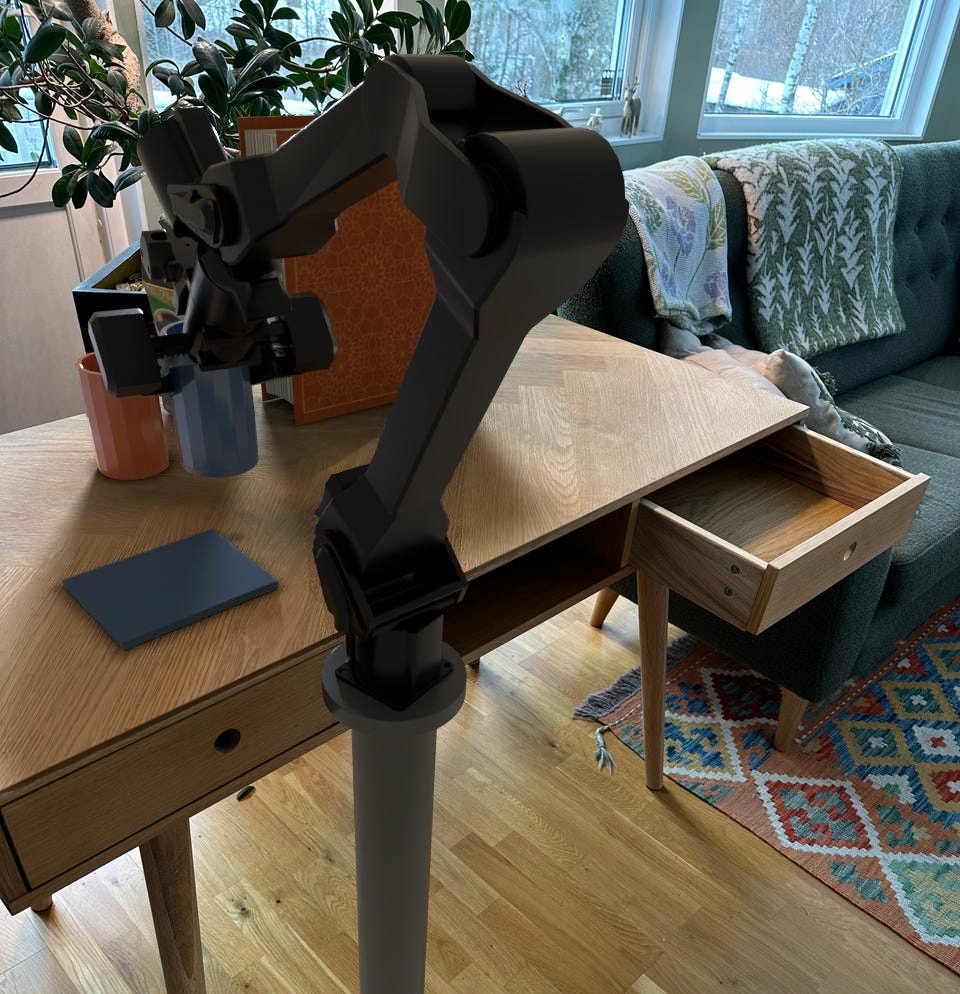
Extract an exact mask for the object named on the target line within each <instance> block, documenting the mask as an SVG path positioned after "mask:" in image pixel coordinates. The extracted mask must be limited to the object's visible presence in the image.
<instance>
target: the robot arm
mask: <svg viewBox="0 0 960 994" xmlns="http://www.w3.org/2000/svg"><path fill="white" fill-rule="evenodd" d="M318 115H319V116H318V117H317V118H316V119H314V120H313V121H312V122H310V123H309V124H308V125H307V126H305V127H304V128H303V129H302V130H300V131H299V132H298V133H296V134H295V135H294V136H293V137H291V138H290V139H289V140H288V141H286V142H285V143H284V144H282V145H281V146H280V147H279V148H277V149H276V150H274V151H271V152H268V153H263V154H258V155H252V156H246V157H241V156H240V157H235V158H231V159H229V157H228V155H227V153H226V151H225V148H224V147H223V144H222V142H221V140H220V137H219V135H218V133H217V131H216V130H215V127H214V126H213V124H212V123H211V120H210V118H209V115H208V113H207V112H206V109H205V107H204V106H196V105H195V106H175V109H174V112H173V116H172V117H171V118H168V119H165V120H163V121H160V122H159V123H157V124H156V125H154V126H152V128H150V129H149V130H148V131H147V132H146V133H145V134H143V136H141V137H139V138H138V141H137V143H136V153H137V157H138V159H139V162H140V163H141V166H142V167H143V168H142V169H143V170H144V172H145V174H146V177H147V179H148V181H149V183H150V186H151V187H152V190H153V192H154V194H155V196H156V198H157V200H158V203H159V205H160V207H161V209H162V211H163V213H164V215H165V218H166V219H167V222H168V224H169V225H168V226H166V227H164V228H160V229H159V228H158V229H152V230H142V231H141V233H140V239H139V249H140V257H141V258H140V260H141V259H142V263H143V265H144V267H145V270H146V272H147V275H148V277H149V279H150V280H151V281H154V280H164V282H165V283H169V282H172V284H173V287H174V294H173V301H172V302H173V306H174V309H175V312H176V315H177V316H183V317H184V324H183V333H180V334H171V335H161V336H158V334H157V331H156V328H155V325H154V321H149V322H148V321H147V322H146V319H145V315H144V312H143V311H142V310H141V309H140V308H139V307H136V308H125V309H115V310H104V311H94V312H93V313H92V314H91V316H90V318H89V319H88V323H87V324H88V325H87V327H88V329H87V330H88V335H89V337H90V338H89V339H90V342H91V344H92V347H93V352H95V354H96V358H97V361H98V364H99V367H100V371H101V374H102V377H103V380H104V384H105V387H106V390H107V393H109V394H111V395H112V396H114V397H116V398H121V397H128V396H136V395H140V396H159V398H162V397H163V398H170V397H172V395H173V394H174V392H175V389H174V386H173V382H172V379H171V376H170V373H169V370H170V368H176V367H184V366H192V365H199V368H200V371H201V372H206V371H214V370H222V369H230V368H237V367H245V366H250V371H251V381H252V387H254V386H257V385H258V386H259V385H261V384H262V383H266V382H271V381H275V380H279V379H284V378H288V377H292V376H298V375H302V374H304V373H305V372H312V371H319V370H327V369H329V368H330V366H331V365H332V363H333V361H334V359H335V357H336V355H337V343H336V340H335V337H334V333H333V330H332V327H331V324H330V321H329V318H328V315H327V312H326V309H325V306H324V303H323V301H322V300H321V299H320V298H319V297H318V296H317V295H316V294H314V293H313V292H303V293H292V294H288V293H287V291H286V289H285V287H284V285H283V282H282V280H281V277H280V276H281V273H282V262H281V259H283V258H291V257H298V256H306V255H314V254H316V253H317V252H318V251H319V250H320V249H321V248H322V247H323V246H324V245H325V244H326V243H327V242H328V241H329V240H330V239H331V238H332V237H333V236H334V235H335V233H336V232H337V230H338V224H337V217H338V216H339V215H340V214H341V213H342V212H343V211H344V210H346V209H347V208H349V207H351V206H353V205H354V204H356V203H358V202H360V201H361V200H363V199H365V198H366V197H368V196H370V195H372V194H373V193H375V192H377V191H379V190H380V189H382V188H384V187H386V186H387V185H389V184H391V183H393V182H394V181H396V180H398V181H399V188H400V195H401V200H402V202H403V203H404V205H405V206H406V207H407V208H408V209H409V210H410V211H411V212H412V213H413V214H414V215H415V216H416V217H417V218H418V219H419V220H420V221H421V222H422V223H423V224H424V225H425V226H426V227H427V229H426V233H425V238H424V245H425V249H426V252H427V256H428V260H429V263H430V267H431V270H432V274H433V277H434V281H435V284H436V288H437V292H436V296H435V300H434V302H433V305H432V307H431V310H430V312H429V315H428V317H427V320H426V322H425V325H424V327H423V330H422V333H421V335H420V338H419V340H418V343H417V345H416V348H415V350H414V353H413V355H412V358H411V360H410V363H409V366H408V368H407V371H406V373H405V376H404V378H403V381H402V383H401V386H400V388H399V391H398V393H397V396H396V399H395V401H394V402H393V404H392V406H391V408H390V411H389V414H388V417H387V419H386V421H385V424H384V427H383V429H382V431H381V434H380V437H379V439H378V441H377V445H376V446H375V449H374V452H373V455H372V457H371V460H370V462H368V463H365V464H361V465H358V466H354V467H351V468H347V469H345V470H340V471H337V472H334V473H331V474H330V475H329V477H328V478H327V480H326V481H325V483H324V486H323V492H322V496H321V501H320V503H319V505H318V507H316V508H315V509H314V510H313V514H314V516H316V517H317V518H318V520H317V522H316V524H315V529H314V538H313V541H312V550H311V552H312V556H313V558H314V563H315V567H316V572H317V576H318V580H319V584H320V588H321V589H320V590H321V592H322V597H323V601H324V603H325V606H326V610H327V611H328V612H329V613H330V614H331V615H332V616H333V625H334V629H335V630H336V631H337V632H338V633H342V634H345V641H346V654H347V656H348V657H350V659H349V660H347V661H346V662H345V663H343V664H342V665H340V666H339V667H337V668H336V669H335V676H336V677H337V678H338V679H340V680H341V681H343V682H345V683H347V684H349V685H350V686H352V687H354V688H356V689H357V690H359V691H361V692H363V693H364V694H366V695H368V696H370V697H372V698H373V699H375V700H377V701H379V702H380V703H382V704H384V705H386V706H388V707H389V708H391V709H393V710H395V711H397V712H402V711H404V710H406V709H407V708H408V707H409V706H411V705H412V704H413V703H414V702H416V701H417V700H418V699H419V698H421V697H422V696H423V695H424V694H425V693H427V692H428V691H429V690H430V689H432V688H433V687H434V686H435V685H437V684H438V683H439V682H440V681H442V680H443V679H444V678H445V677H446V676H448V675H449V674H450V673H451V672H452V671H453V663H452V662H450V661H448V660H446V659H444V658H442V657H441V656H442V641H443V633H444V632H443V631H444V615H445V614H444V611H443V610H441V609H443V608H445V607H447V606H450V605H452V604H458V603H461V602H462V601H463V598H464V597H465V594H466V592H467V590H468V587H469V581H468V579H467V576H466V574H465V572H464V570H463V567H462V566H461V563H460V561H459V559H458V556H457V555H456V552H455V550H454V548H453V545H452V543H451V542H450V539H449V537H448V535H447V534H448V531H449V527H450V519H449V517H448V513H447V512H446V509H445V506H444V504H443V502H442V498H443V496H444V493H445V492H446V490H447V488H448V486H449V484H450V482H451V480H452V478H453V476H454V475H455V473H456V471H457V469H458V467H459V465H460V463H461V461H462V459H463V457H464V456H465V453H466V451H467V450H468V448H469V446H470V444H471V442H472V440H473V438H474V437H475V434H476V433H477V430H478V429H479V427H480V425H481V423H482V421H483V419H484V417H485V415H486V413H487V411H488V410H489V408H490V406H491V404H492V402H493V400H494V398H495V396H496V394H497V392H498V390H499V389H500V387H501V385H502V383H503V381H504V379H505V377H506V375H507V373H508V371H509V369H510V368H511V366H512V364H513V362H514V360H515V358H516V356H517V354H518V352H519V350H520V348H521V346H522V344H523V342H524V341H525V339H526V337H527V335H528V334H529V333H530V332H531V330H532V329H534V328H535V327H536V326H537V325H538V324H540V323H541V322H542V321H543V320H545V319H546V318H547V317H549V316H550V315H551V314H552V313H553V312H555V311H556V310H557V309H559V308H560V307H561V306H562V305H564V304H565V303H566V302H567V301H569V300H570V299H571V298H572V297H574V296H575V295H576V294H577V293H579V292H580V291H581V290H582V289H583V288H584V286H585V285H586V284H587V282H588V281H589V280H590V279H591V278H592V276H593V275H594V274H595V273H596V272H597V271H598V270H599V268H600V267H601V266H602V264H603V263H604V262H605V260H606V259H607V258H608V257H609V256H610V255H611V253H612V252H613V251H614V249H615V248H616V246H617V245H618V244H619V242H620V241H621V239H622V237H623V233H624V231H625V229H626V227H627V224H628V218H629V213H630V209H631V206H630V205H631V203H630V201H629V200H628V199H627V198H626V183H625V176H624V173H623V169H622V166H621V162H620V159H619V156H618V155H617V153H616V151H615V150H614V149H613V147H612V145H611V144H610V142H609V140H608V139H607V138H605V137H604V136H602V135H601V134H600V133H598V132H597V131H596V130H594V129H590V128H586V127H582V126H581V127H580V126H579V127H578V126H577V127H575V126H573V125H572V124H570V122H568V121H567V120H566V119H565V118H564V117H562V116H561V115H559V114H558V113H556V112H555V111H552V110H550V109H548V108H546V107H545V106H542V105H540V104H538V103H536V102H534V101H531V100H530V99H528V98H525V97H524V96H522V95H519V94H518V93H515V92H514V91H511V90H510V89H507V88H505V87H503V86H502V85H500V84H498V83H495V82H494V81H493V80H492V79H490V77H488V76H487V75H486V74H485V73H484V72H483V71H481V70H480V69H479V68H478V67H477V66H475V64H472V63H470V62H468V61H466V60H465V59H463V57H461V56H458V55H455V54H441V53H440V54H437V53H436V54H433V53H432V54H430V53H427V54H426V53H392V54H390V55H387V56H384V57H383V58H382V59H381V60H378V61H376V62H373V63H372V64H371V66H370V67H369V69H368V70H367V71H366V72H365V76H364V79H363V80H362V81H361V82H360V83H359V84H358V85H356V86H355V87H354V88H352V89H351V90H350V91H348V92H347V93H346V94H345V95H343V97H341V98H340V99H338V100H337V101H336V102H335V103H333V104H332V105H331V106H330V107H328V108H327V109H325V110H324V111H323V112H321V114H318ZM188 354H189V355H188ZM178 355H179V357H178ZM183 355H184V356H183ZM168 356H169V358H168ZM173 356H174V357H173Z"/></svg>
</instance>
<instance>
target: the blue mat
mask: <svg viewBox="0 0 960 994" xmlns="http://www.w3.org/2000/svg"><path fill="white" fill-rule="evenodd" d="M61 582H62V585H63V588H64V589H65V590H66V591H67V592H68V593H69V594H70V595H71V597H73V599H74V600H75V601H76V602H77V603H78V604H79V605H80V606H81V607H82V608H83V609H84V610H85V611H86V613H88V614H89V615H90V616H91V618H92V619H93V620H95V621H96V623H97V624H98V625H99V626H100V627H101V628H102V629H103V631H105V632H106V633H107V635H109V637H110V638H111V639H112V640H113V641H114V642H115V643H116V644H117V645H118V646H119V647H120V648H121V649H122V650H123V651H126V650H129V649H132V648H133V647H136V646H138V645H141V644H144V643H146V642H148V641H151V640H153V639H156V638H159V637H162V636H164V635H166V634H168V633H171V632H173V631H176V630H178V629H181V628H184V627H185V626H188V625H190V624H191V625H192V624H193V623H195V622H199V621H200V620H203V619H205V618H209V617H211V616H213V615H215V614H218V613H220V612H223V611H225V610H228V609H231V608H233V607H235V606H238V605H241V604H243V603H245V602H248V601H250V600H252V599H255V598H258V597H260V596H263V595H265V594H268V593H269V592H273V591H275V590H277V589H279V580H277V578H275V577H274V576H272V575H271V574H270V573H268V572H267V571H266V570H265V569H264V568H262V567H261V566H259V564H257V563H256V562H255V561H253V560H252V559H251V558H249V557H248V556H247V555H246V554H245V553H243V552H242V551H241V550H240V549H239V548H237V547H236V546H235V545H233V544H232V543H230V542H229V541H228V540H227V539H226V538H224V537H223V536H222V535H220V533H219V532H217V531H215V530H214V529H213V528H211V529H208V530H205V531H201V532H199V533H196V534H193V535H190V536H187V537H184V538H181V539H178V540H175V541H172V542H169V543H166V544H164V545H161V546H157V547H155V548H152V549H149V550H146V551H143V552H140V553H137V554H134V555H132V556H129V557H125V558H123V559H119V560H117V561H114V562H111V563H108V564H105V565H102V566H99V567H96V568H93V569H91V570H88V571H84V572H81V573H79V574H76V575H73V576H70V577H67V578H64V579H62V581H61Z"/></svg>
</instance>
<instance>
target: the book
mask: <svg viewBox="0 0 960 994" xmlns="http://www.w3.org/2000/svg"><path fill="white" fill-rule="evenodd" d="M319 115H320V114H301V115H300V114H299V115H271V116H270V115H268V116H239V117H238V116H237V118H236V119H237V130H238V131H237V132H238V143H239V153H240V157H246V156H252V155H258V154H263V153H268V152H271V151H274V150H276V149H277V148H279V147H280V146H281V145H282V144H284V143H285V142H286V141H288V140H289V139H290V138H291V137H293V136H294V135H295V134H296V133H298V132H299V131H300V130H302V129H303V128H304V127H305V126H307V125H308V124H309V123H310V122H312V121H313V120H314V119H316V118H317V117H318V116H319ZM337 224H338V230H337V232H336V233H335V235H334V236H333V237H332V238H331V239H330V240H329V241H328V242H327V243H326V244H325V245H324V246H323V247H322V248H321V249H320V250H319V251H318V252H317V253H316V254H314V255H306V256H298V257H291V258H283V259H281V262H282V273H281V276H280V277H281V280H282V282H283V285H284V287H285V289H286V291H287V293H288V294H292V293H303V292H313V293H314V294H316V295H317V296H318V297H319V298H320V299H321V300H322V301H323V303H324V306H325V309H326V312H327V315H328V318H329V321H330V324H331V327H332V330H333V333H334V337H335V340H336V343H337V355H336V357H335V359H334V361H333V363H332V365H331V366H330V368H329V369H327V370H319V371H312V372H305V373H304V374H302V375H298V376H292V377H288V378H284V379H279V380H275V381H271V382H266V383H262V384H260V388H261V389H260V390H261V400H262V402H263V403H264V402H268V401H273V400H278V399H281V398H282V399H284V400H286V401H287V402H289V403H290V404H291V405H293V414H294V415H293V416H294V425H295V426H301V425H305V424H309V423H313V422H317V421H321V420H325V419H329V418H333V417H338V416H342V415H346V414H350V413H355V412H358V411H364V410H368V409H371V408H375V407H380V406H383V405H388V404H392V403H394V401H395V399H396V396H397V393H398V391H399V388H400V386H401V383H402V381H403V378H404V376H405V373H406V371H407V368H408V366H409V363H410V360H411V358H412V355H413V353H414V350H415V348H416V345H417V343H418V340H419V338H420V335H421V333H422V330H423V327H424V325H425V322H426V320H427V317H428V315H429V312H430V310H431V307H432V305H433V302H434V300H435V296H436V292H437V288H436V284H435V281H434V277H433V274H432V270H431V267H430V263H429V260H428V256H427V252H426V249H425V245H424V238H425V233H426V229H427V227H426V226H425V225H424V224H423V223H422V222H421V221H420V220H419V219H418V218H417V217H416V216H415V215H414V214H413V213H412V212H411V211H410V210H409V209H408V208H407V207H406V206H405V205H404V203H403V202H402V200H401V195H400V188H399V181H398V180H396V181H394V182H393V183H391V184H389V185H387V186H386V187H384V188H382V189H380V190H379V191H377V192H375V193H373V194H372V195H370V196H368V197H366V198H365V199H363V200H361V201H360V202H358V203H356V204H354V205H353V206H351V207H349V208H347V209H346V210H344V211H343V212H342V213H341V214H340V215H339V216H338V217H337Z"/></svg>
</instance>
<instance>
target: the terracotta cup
mask: <svg viewBox="0 0 960 994" xmlns="http://www.w3.org/2000/svg"><path fill="white" fill-rule="evenodd" d="M74 366H75V371H76V377H77V381H78V385H79V390H80V394H81V398H82V402H83V408H84V412H85V417H86V422H87V426H88V429H89V431H88V432H89V435H90V440H91V444H92V449H93V453H94V459H95V462H96V465H97V469H98V471H99V472H100V474H101V475H103V476H105V477H107V478H110V479H114V480H119V481H135V480H136V481H138V480H144V479H148V478H150V477H155V476H158V475H159V474H160V473H162V472H164V471H165V470H166V469H167V468H168V467H169V464H170V459H169V456H170V455H169V450H168V443H167V438H166V430H165V426H164V419H163V418H164V417H163V413H162V412H163V411H162V406H161V401H160V400H161V399H160V397H159V396H140V395H136V396H128V397H121V398H116V397H114V396H112V395H111V394H109V393H107V390H106V387H105V384H104V380H103V377H102V374H101V371H100V367H99V364H98V361H97V358H96V354H95V351H92V352H88V353H86V354H84V355H82V356H80V357H78V358H77V359H76V361H75V363H74Z"/></svg>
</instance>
